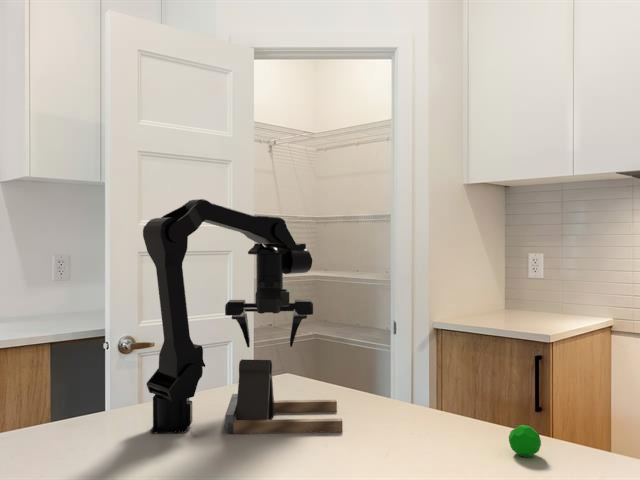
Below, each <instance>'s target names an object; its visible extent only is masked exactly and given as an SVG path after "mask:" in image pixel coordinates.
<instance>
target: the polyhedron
mask: <svg viewBox="0 0 640 480" xmlns="http://www.w3.org/2000/svg"><path fill="white" fill-rule="evenodd" d="M508 442H509V446H510V448H511V451H513V452H514V453H516V454H517V455H518V456H519V457H522V456H523V457H522V458H530V457H532V456H533V455H535V454H537V453H538V452H539V451H540V449H541V446H542V440H541V437H540V434H539V433H538V432H537V431H536V430H535V429H534V428H533V427H532V426H529V425H526V424H520V425H518V426H516V427H515V428H512V429H511V430H510V433H509V435H508Z"/></svg>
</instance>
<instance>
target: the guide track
mask: <svg viewBox="0 0 640 480" xmlns="http://www.w3.org/2000/svg"><path fill="white" fill-rule="evenodd" d="M274 409H275V413H309V412H311V413H313V412H315V413H317V412H337V411H338V401H337V399H289V400H285V399H283V400H281V399H280V400H279V399H277V400H276V399H275V400H274ZM230 424H231V423H229V424H228V426H229V427H228V429H229V428H230V427H231V426H232V427H231V428H233V426H234V429H232V430H230V431H228V432H229V433H231V432H232V431H233V430H234V434H233V433H232V434H231V435H235V434H236V435H238V434H239V435H242V434H248V435H249V434H252V435H253V434H290V433H291V434H293V433H295V434H297V433H299V434H300V433H302V434H303V433H342V432H343V418H294V419H293V418H291V419H287V418H286V419H282V418H281V419H272V420H234V425H230ZM232 424H233V423H232ZM229 433H228V434H227V435H230V434H229Z"/></svg>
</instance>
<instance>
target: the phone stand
mask: <svg viewBox="0 0 640 480" xmlns="http://www.w3.org/2000/svg"><path fill="white" fill-rule="evenodd" d="M237 394H238V397H237V410H236V420H274V417H275V416H276V412H275V409H274V401H275V399H274V398H275V397H274V383H273V361H272V360H271V359H240V360H239V364H238V384H237Z"/></svg>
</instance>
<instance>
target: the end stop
mask: <svg viewBox="0 0 640 480" xmlns="http://www.w3.org/2000/svg"><path fill="white" fill-rule="evenodd" d="M237 397H238V393H232V394H231V397H230V401H229V404H228V407H227V408H226V411H225V415H224V417H225V418H224V425H225V427H224V429H225V430H224V431H225V432H224V433H225V435H235V434H234V430H233V431H232V432H231V433H229V432H228V431H230V430H232V429H234V426H233V428H231V427H232V426H231V427H230V428H229V429H228V427H229V426H228V424H229V423H231V424H230V425H234V420H236V410H237ZM232 423H233V424H232ZM228 433H229V434H228ZM232 433H233V434H232Z"/></svg>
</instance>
